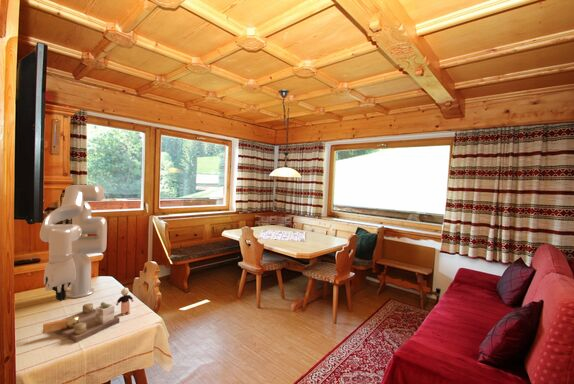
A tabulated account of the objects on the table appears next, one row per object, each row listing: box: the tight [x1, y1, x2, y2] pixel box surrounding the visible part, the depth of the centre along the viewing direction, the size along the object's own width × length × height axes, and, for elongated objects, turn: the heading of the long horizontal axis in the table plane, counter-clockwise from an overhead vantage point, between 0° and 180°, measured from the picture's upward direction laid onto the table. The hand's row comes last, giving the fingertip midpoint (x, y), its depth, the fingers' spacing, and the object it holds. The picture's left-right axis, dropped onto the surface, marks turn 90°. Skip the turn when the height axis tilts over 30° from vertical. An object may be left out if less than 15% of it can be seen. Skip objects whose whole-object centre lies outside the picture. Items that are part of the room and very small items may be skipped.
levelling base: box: [52, 301, 120, 343], centre depth 126 cm, size 20×18×10 cm
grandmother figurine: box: [115, 287, 135, 317], centre depth 137 cm, size 8×4×13 cm, turn 148°
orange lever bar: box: [42, 314, 79, 334], centre depth 119 cm, size 12×4×4 cm, turn 129°
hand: (60, 299), depth 122 cm, fingers closed
